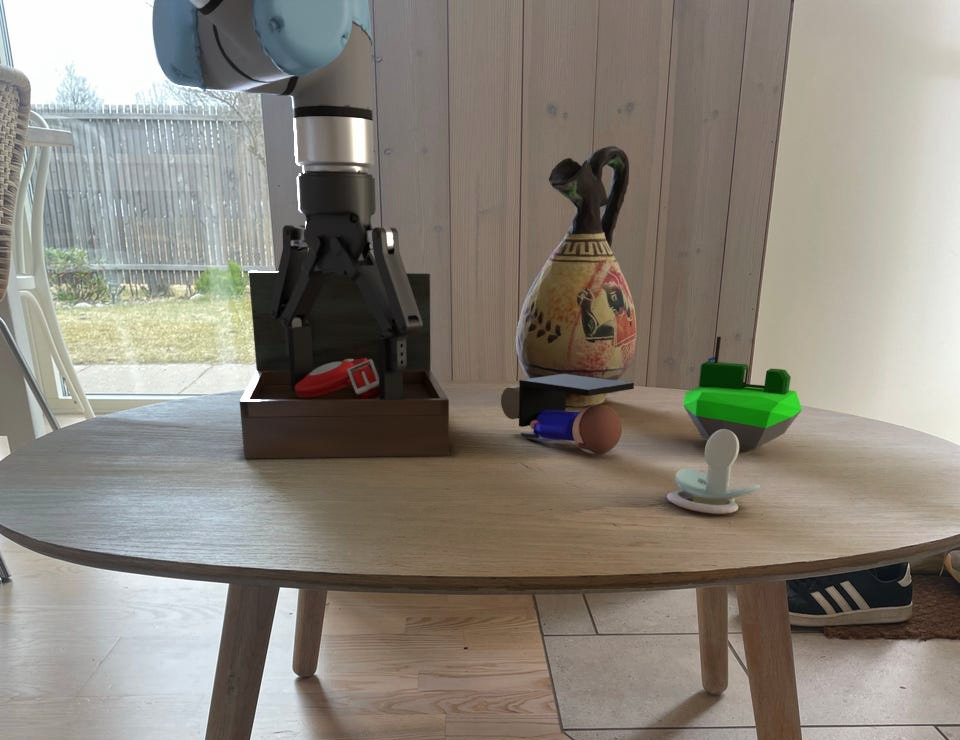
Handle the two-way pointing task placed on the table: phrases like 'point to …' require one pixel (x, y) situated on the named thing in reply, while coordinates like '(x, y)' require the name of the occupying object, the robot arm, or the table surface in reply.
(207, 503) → the table surface
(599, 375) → the ceramic jug
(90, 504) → the table surface
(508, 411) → the figurine character
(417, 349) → the open wooden box
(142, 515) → the table surface
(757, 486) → the pacifier
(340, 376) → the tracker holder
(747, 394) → the toy tugboat
